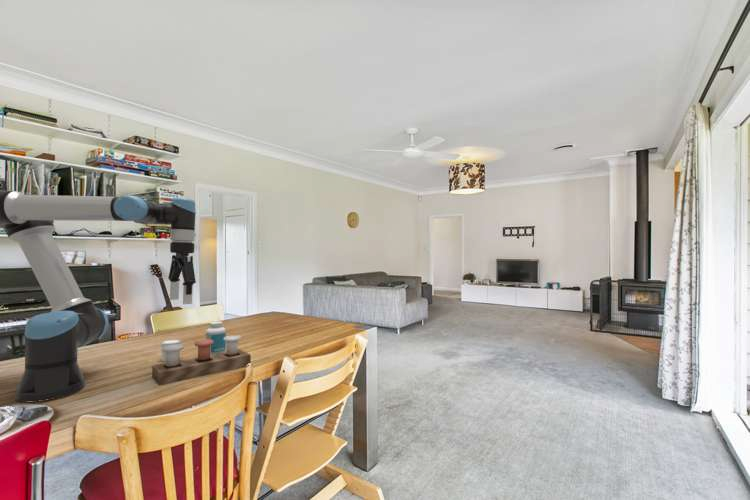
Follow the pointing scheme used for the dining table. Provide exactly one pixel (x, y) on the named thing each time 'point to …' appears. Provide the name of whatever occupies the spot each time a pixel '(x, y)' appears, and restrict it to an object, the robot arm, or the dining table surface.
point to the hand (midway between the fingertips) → (180, 301)
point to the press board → (199, 367)
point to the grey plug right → (232, 344)
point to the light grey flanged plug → (168, 342)
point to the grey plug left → (172, 354)
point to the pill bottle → (216, 337)
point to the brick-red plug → (204, 349)
